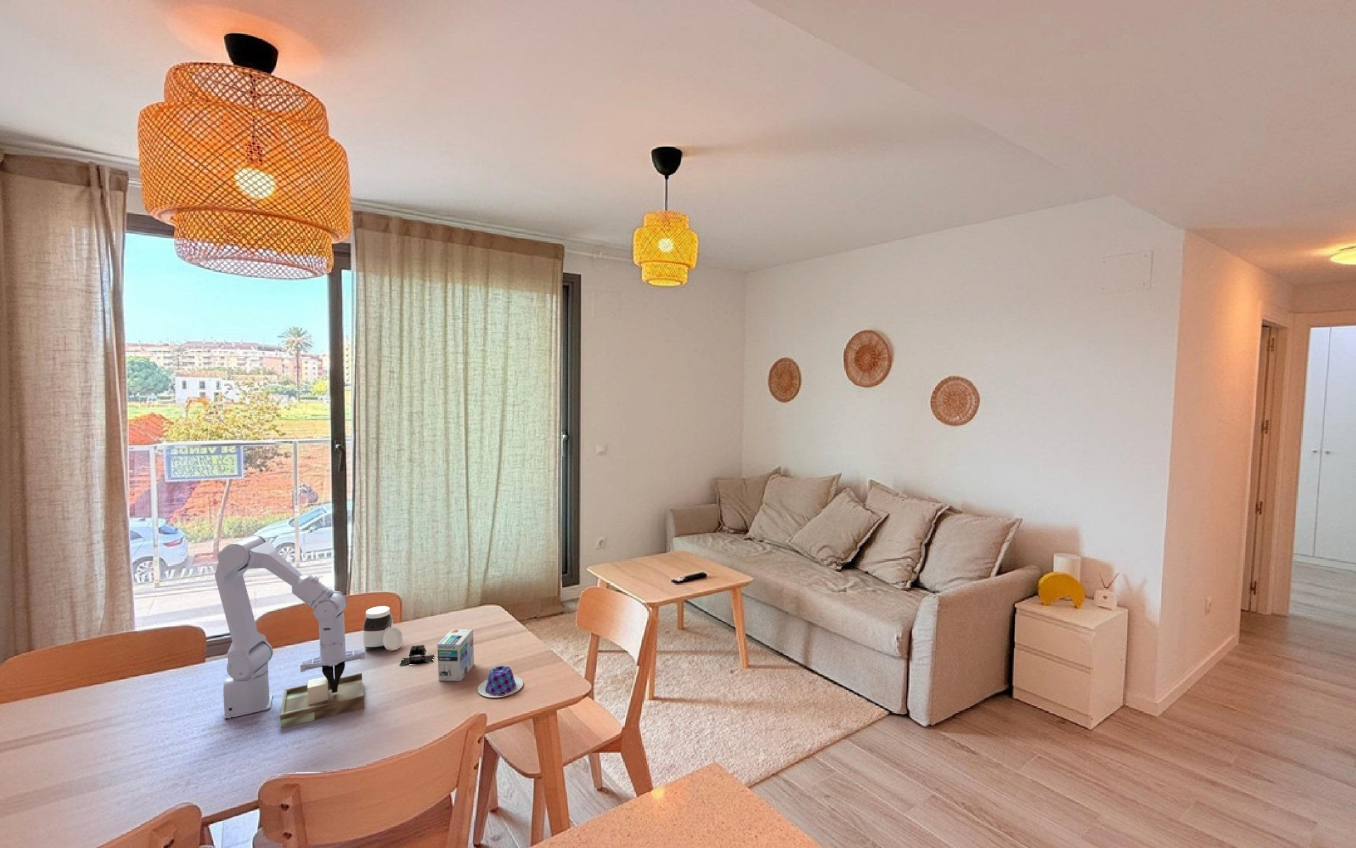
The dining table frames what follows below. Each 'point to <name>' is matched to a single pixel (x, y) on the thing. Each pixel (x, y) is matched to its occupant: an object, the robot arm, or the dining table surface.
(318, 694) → the cream block
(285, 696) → the brown shallow open box
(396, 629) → the spread jar
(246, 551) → the robot arm
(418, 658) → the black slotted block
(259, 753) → the dining table surface
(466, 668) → the light bulb box
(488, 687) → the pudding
